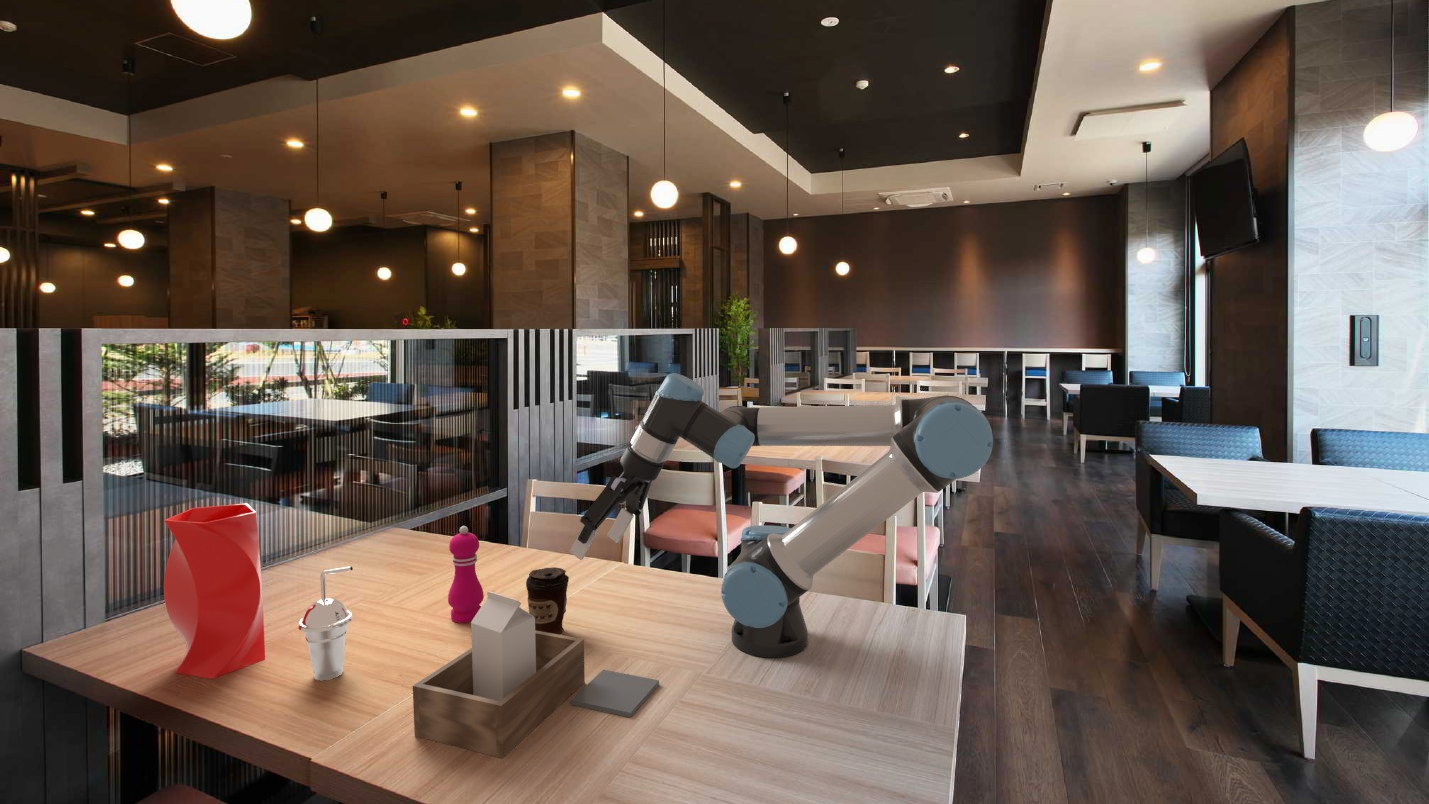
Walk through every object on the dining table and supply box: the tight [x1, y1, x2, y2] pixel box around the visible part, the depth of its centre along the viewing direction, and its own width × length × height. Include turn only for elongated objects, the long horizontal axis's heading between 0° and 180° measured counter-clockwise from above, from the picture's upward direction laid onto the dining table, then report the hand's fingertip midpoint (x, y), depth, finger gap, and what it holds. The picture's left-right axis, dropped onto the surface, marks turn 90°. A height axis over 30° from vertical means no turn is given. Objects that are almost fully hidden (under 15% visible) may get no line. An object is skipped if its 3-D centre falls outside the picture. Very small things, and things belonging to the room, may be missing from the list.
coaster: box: [570, 669, 660, 718], centre depth 118 cm, size 11×11×1 cm
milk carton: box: [470, 590, 536, 701], centre depth 113 cm, size 7×7×19 cm
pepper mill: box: [447, 525, 485, 624], centre depth 148 cm, size 7×7×20 cm
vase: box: [163, 503, 266, 680], centre depth 129 cm, size 15×14×28 cm
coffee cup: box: [525, 567, 570, 635], centre depth 141 cm, size 9×8×13 cm
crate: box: [412, 630, 586, 759], centre depth 113 cm, size 16×23×8 cm
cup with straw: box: [297, 566, 354, 682], centre depth 123 cm, size 8×9×20 cm
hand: (595, 547), depth 131 cm, fingers open, 13 cm apart
